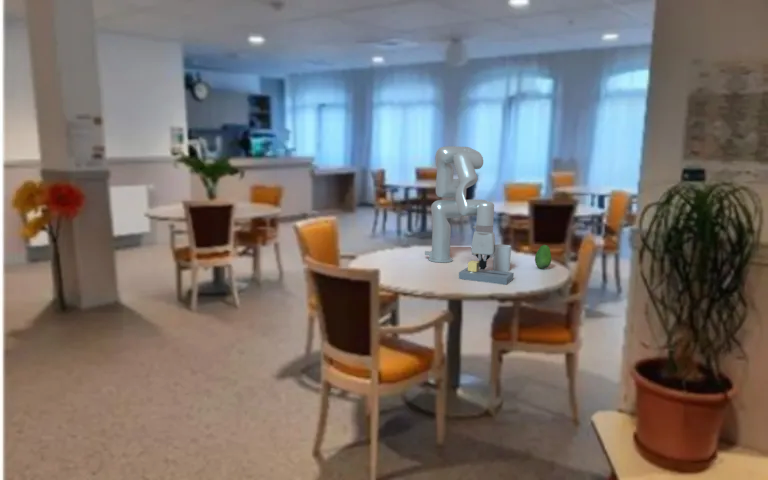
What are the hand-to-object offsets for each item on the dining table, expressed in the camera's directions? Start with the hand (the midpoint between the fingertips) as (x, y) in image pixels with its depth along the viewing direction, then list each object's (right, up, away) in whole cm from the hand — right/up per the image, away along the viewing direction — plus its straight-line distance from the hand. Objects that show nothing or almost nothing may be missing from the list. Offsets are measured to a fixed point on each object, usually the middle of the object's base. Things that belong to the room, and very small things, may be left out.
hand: (482, 268), depth 265 cm
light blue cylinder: (+12, -2, +19) cm, 23 cm away
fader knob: (-4, -1, +2) cm, 4 cm away
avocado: (+34, -1, +24) cm, 41 cm away
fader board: (+2, -5, 0) cm, 5 cm away
